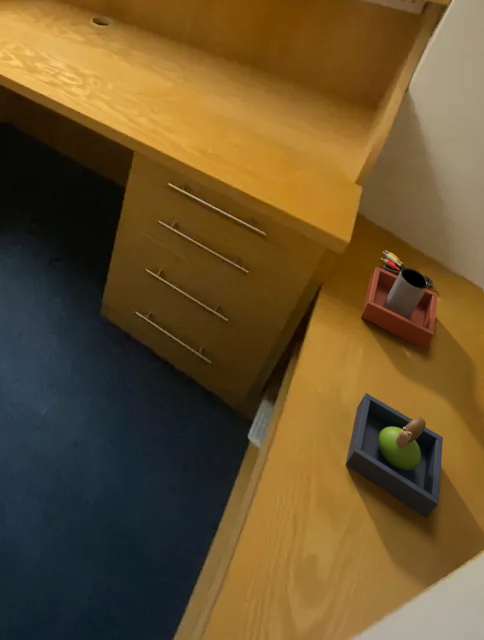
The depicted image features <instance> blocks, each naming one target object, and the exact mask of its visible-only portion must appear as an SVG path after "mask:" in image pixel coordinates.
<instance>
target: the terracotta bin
mask: <svg viewBox="0 0 484 640" xmlns="http://www.w3.org/2000/svg"><path fill="white" fill-rule="evenodd" d="M397 277H398V275H397V274H392V273H390V272H388V271H385V270H384V269H383V268H380V267H378V266H375V269H374V271H373V273H372V274H371V276H370V279H369V280H370V281H368V286H367V289H368V290H367V289H366V293H367V294H366V293H365V298H364V302H365V303H364V302H363V306H364V307H362V310H363V311H362V312H361V314H360V315H361V316H360V318H362V317H363V318H362V319H364V318H365V319H364V320H366V319H367V320H366V321H367V322H370V323H371V322H372V324H373V323H374V324H373V325H375V324H376V326H377V325H378V326H377V327H379V328H381V329H383V330H385V331H387V332H389V333H391V334H393V335H395V336H396V337H399V338H401V339H403V340H405V341H407V342H409V343H411V344H412V345H415V346H416V347H419V348H420V349H423V350H426V347H428V344H429V343H430V341H431V340H432V339H433V337H434V335H435V325H436V314H437V305H438V296H439V294H438V293H436V292H434V291H432V290H429V289H428V288H427V289H426V291H425V293H424V295H423V296H422V298H421V300H420V301H419V303H418V305H417V306H416V308H415V310H414V312H413V313H412V315H411V317H410V318H409V320H408V319H406V318H404V317H402V316H400V315H398V314H396V313H394V312H392V311H390V310H388V309H386V308H384V307H383V304H384V302H385V300H386V298H387V296H388V294H389V292H390V290H391V289H392V287H393V285H394V283H395V281H396V279H397Z"/></svg>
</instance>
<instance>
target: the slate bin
mask: <svg viewBox="0 0 484 640" xmlns="http://www.w3.org/2000/svg"><path fill="white" fill-rule="evenodd" d="M412 420H413V419H412V418H410V417H409V416H407V415H405V414H403V413H402V412H400V411H398V410H397V409H395V408H393V407H392V406H389V405H388V404H386V403H384V402H383V401H381V400H380V399H377V398H376V397H374V396H372V395H371V394H369V393H367V392H365V393H364V395H363V396H362V398H361V401H360V402H359V404H358V406H357V408H356V412H355V418H354V422H353V426H352V431H351V437H350V443H349V446H348V451H347V456H346V461H345V466H346V467H348V468H349V469H351V470H352V471H354V472H356V473H357V474H358V475H360V476H362V477H363V478H364V479H366V480H367V481H369V482H371V483H372V484H374V485H376V486H377V487H378V488H380V489H381V490H383V491H385V492H386V493H388V494H389V495H391V496H392V497H393V498H395V499H396V500H397V501H399V502H401V503H403V504H404V505H406V506H407V507H409V508H410V509H411V510H413V511H415V512H416V513H418V514H419V515H420V516H422V517H424V518H426V519H427V518H428V517H429V516H430V515H431V513H433V511H434V510H435V509H437V507H438V505H439V501H440V500H439V498H440V485H441V473H442V472H441V469H442V457H443V456H442V455H443V443H444V436H442V435H440V434H439V433H437V432H435V431H433V430H432V429H429V428H428V427H426V426H425V429H424V431H423V432H422V433H421V434H420V436H419V437H418V438H417V439H416V440H415V441H416V442H417V444H418V446H419V448H420V452H421V461H420V463H419V465H418V466H417V467H416V468H415V469H413V470H408V471H406V470H401V469H398V468H396V467H394V466H393V465H391V464H390V463H389V462H388V461H387V460H386V459H385V458H384V456H383V455H382V453H381V451H380V448H379V445H378V437H379V434H380V432H381V431H382V430H383V429H384V428H386V427H398V428H401V429H403V427H405V426H406V425H407V424H408V423H410V422H411V421H412Z"/></svg>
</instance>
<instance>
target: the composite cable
mask: <svg viewBox="0 0 484 640" xmlns="http://www.w3.org/2000/svg"><path fill="white" fill-rule="evenodd" d="M382 254H383V255H384V256H385V258H383V257H380V260H381V261H382V262H383V266H382V269H383V270H385V271H388V272H390V273H392V274H394V275H397V276H398V275H399V274H400V272H401V270H402V269H405V268H406V266H405V265H404V263H403V262H402V261H400V258H399V257H398V256H397V255H395V254H394V253H392V252H389V251H388V250H386V249H385V250H384V251H382ZM423 275H424V276H425V277H426V279H427V280H428V283H429V286H428V288H431V287H432V286H433V285H434V281H433V279H431V278H430V277H429V276H427V275H425V274H423Z"/></svg>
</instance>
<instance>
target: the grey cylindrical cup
mask: <svg viewBox="0 0 484 640" xmlns="http://www.w3.org/2000/svg"><path fill="white" fill-rule="evenodd" d="M424 275H425V274H423V273H421V272H419V271H418V270H416V269H414V268H410V267H405V269H402V270H401V272H400V274H399V275H398V274H397V276H398V277H397V279H396V281H395V283H394V285H393V287H392V289H391V290H390V292H389V294H388V296H387V298H386V300H385V302H384V304H383V307H384V308H386V309H388V310H390V311H392V312H394V313H396V314H398V315H400V316H402V317H404V318H406V319H408V320H409V318H410V317H411V315H412V313H413V312H414V310H415V308H416V306H417V305H418V303H419V301H420V300H421V298H422V296H423V295H424V293H425V291H426V289H427V290H428V288H429V287H428V286H429V283H428V280H427V279H426V277H425V276H426V275H425V276H424Z"/></svg>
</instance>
